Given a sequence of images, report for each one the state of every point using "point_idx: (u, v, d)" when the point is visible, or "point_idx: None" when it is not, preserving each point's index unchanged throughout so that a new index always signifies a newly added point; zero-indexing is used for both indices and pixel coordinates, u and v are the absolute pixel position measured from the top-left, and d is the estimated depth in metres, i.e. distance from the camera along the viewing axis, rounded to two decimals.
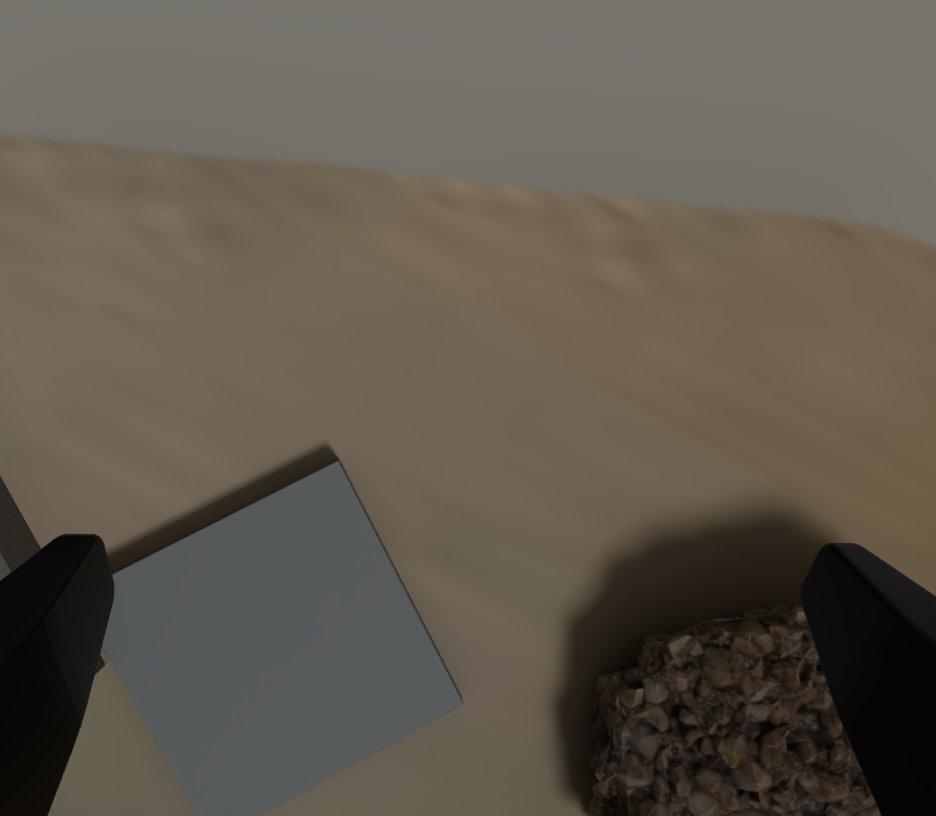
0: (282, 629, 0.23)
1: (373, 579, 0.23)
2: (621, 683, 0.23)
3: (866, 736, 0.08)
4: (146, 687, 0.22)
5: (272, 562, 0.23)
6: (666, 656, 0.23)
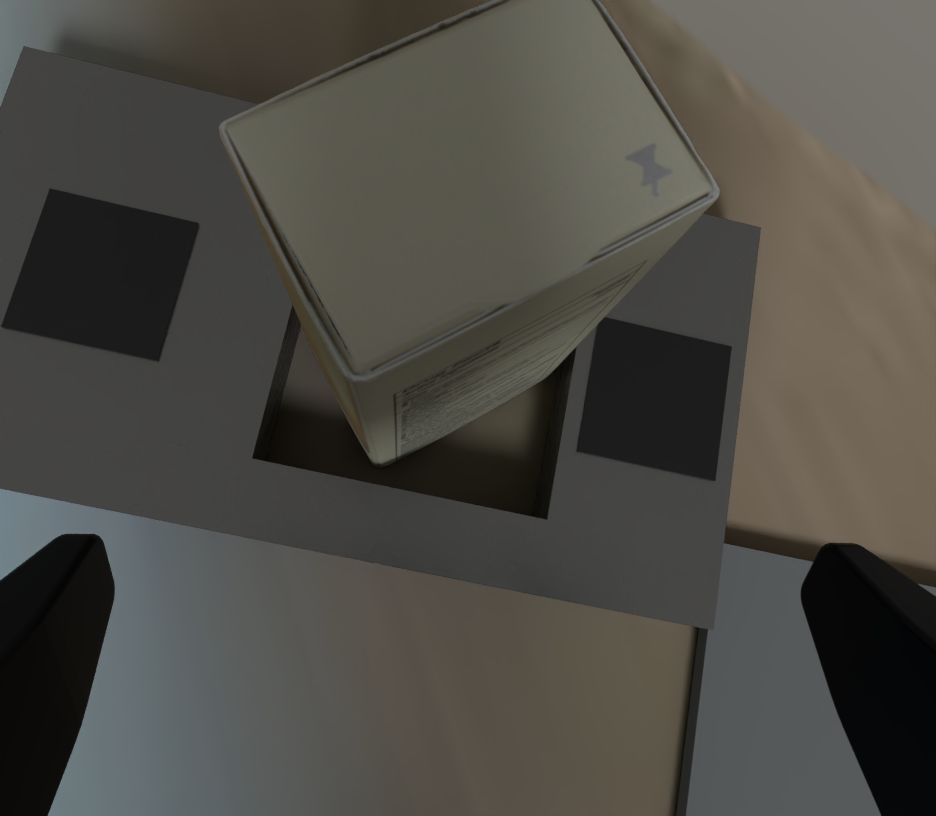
0: None
1: None
2: None
3: (866, 736, 0.08)
4: (721, 672, 0.21)
5: None
6: None
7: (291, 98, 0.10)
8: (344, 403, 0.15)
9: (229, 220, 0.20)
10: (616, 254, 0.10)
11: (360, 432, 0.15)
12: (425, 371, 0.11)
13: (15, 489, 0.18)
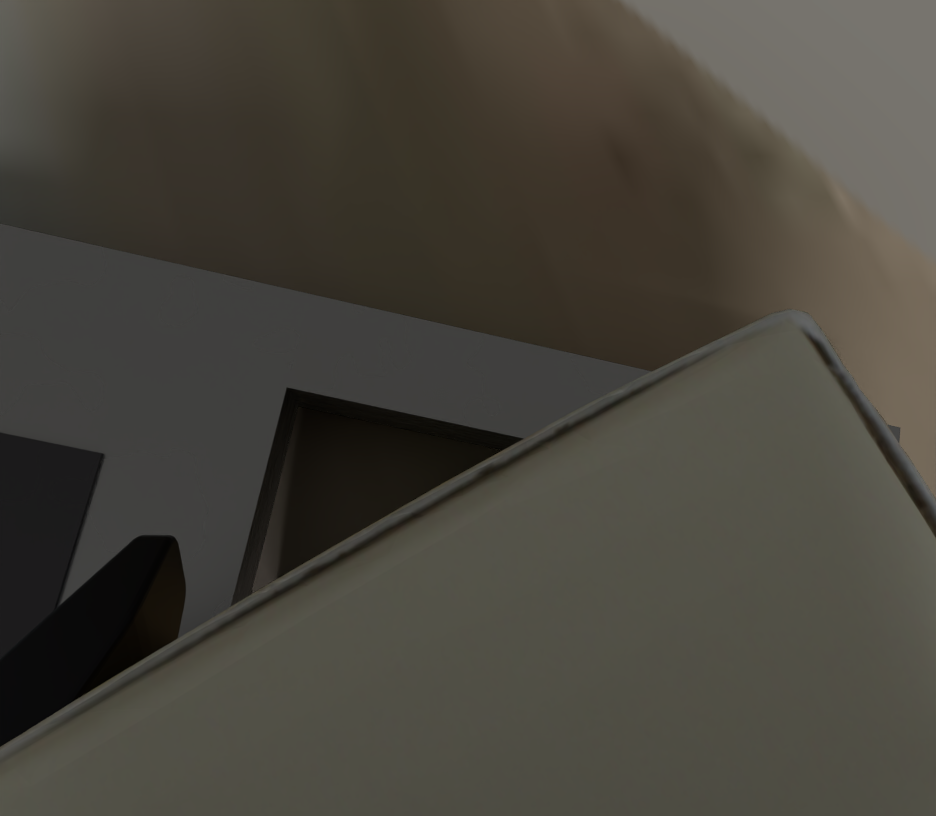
0: None
1: None
2: None
3: None
4: None
5: None
6: None
7: (101, 706, 0.04)
8: None
9: (148, 446, 0.14)
10: None
11: None
12: None
13: None
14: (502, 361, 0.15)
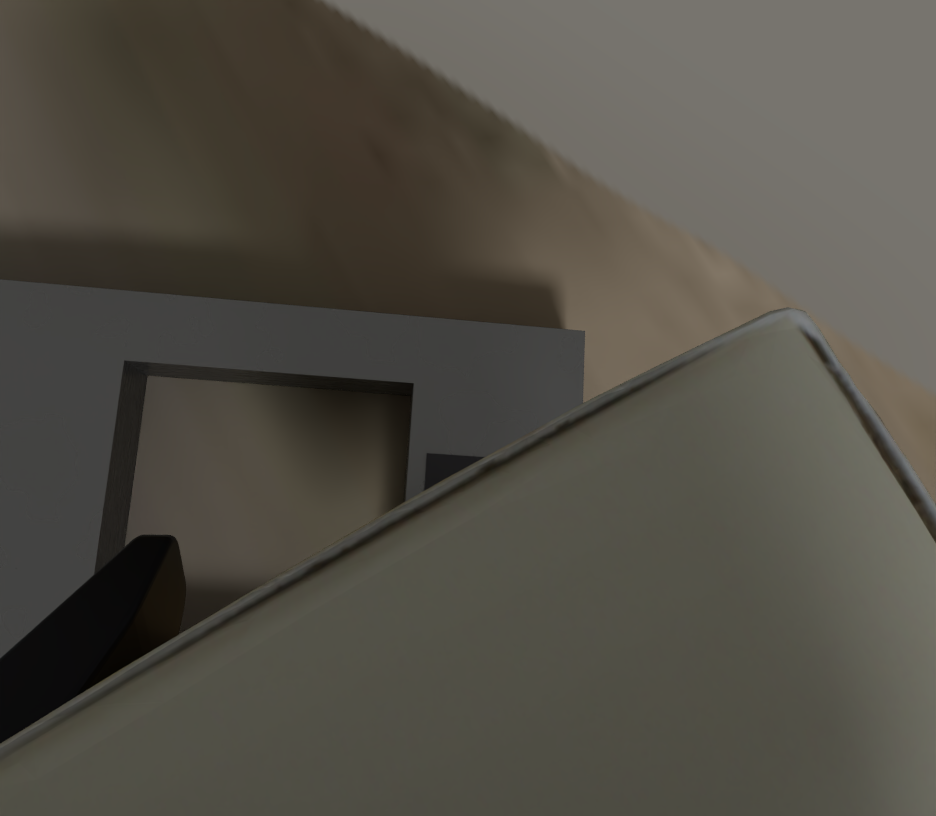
0: None
1: None
2: None
3: None
4: None
5: None
6: None
7: (105, 700, 0.04)
8: None
9: (28, 414, 0.19)
10: None
11: None
12: None
13: None
14: (282, 321, 0.21)
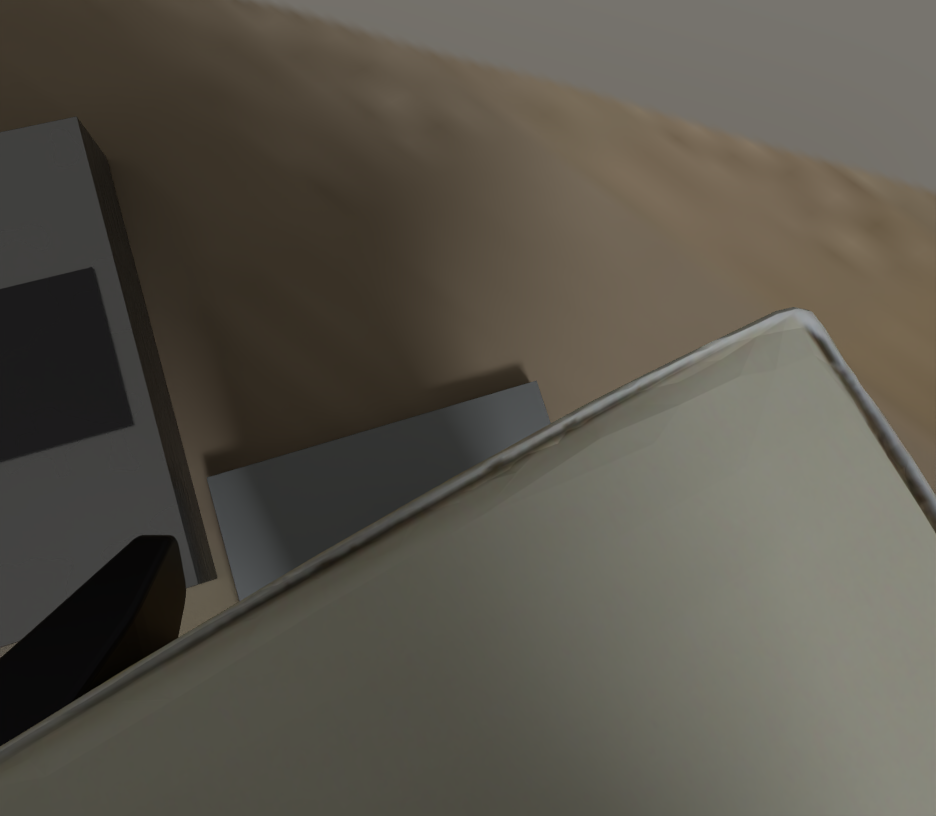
0: None
1: None
2: None
3: None
4: None
5: None
6: None
7: (114, 698, 0.04)
8: None
9: None
10: None
11: None
12: None
13: None
14: None
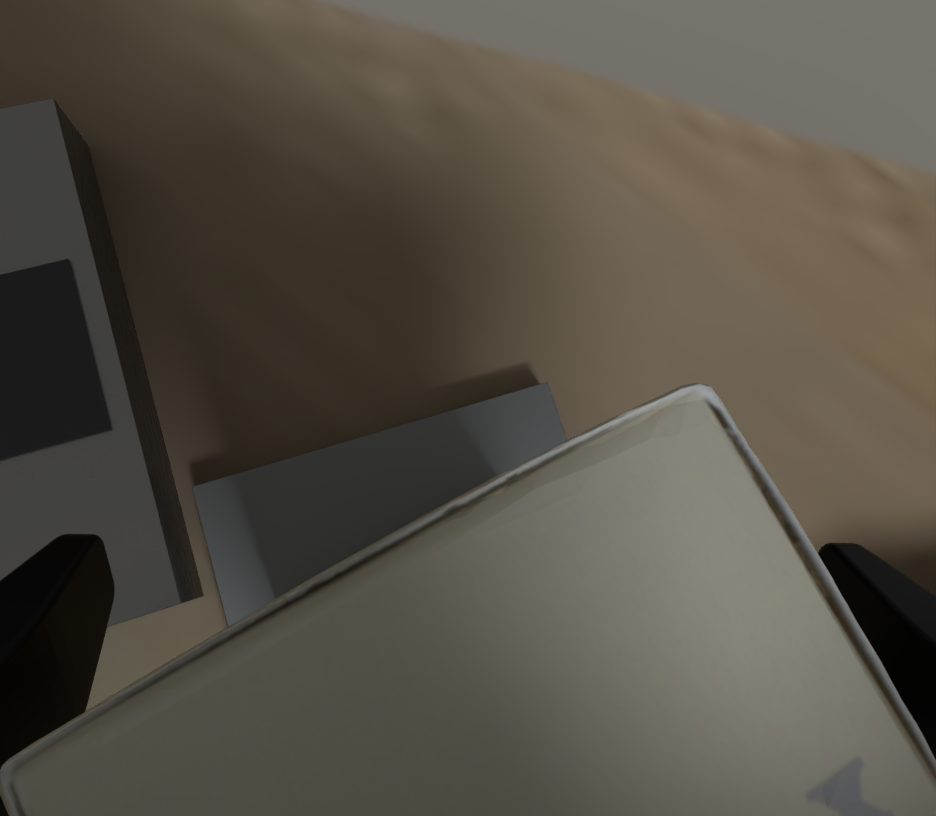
0: None
1: None
2: None
3: None
4: None
5: (448, 493, 0.18)
6: None
7: (153, 687, 0.05)
8: None
9: None
10: None
11: None
12: None
13: None
14: None
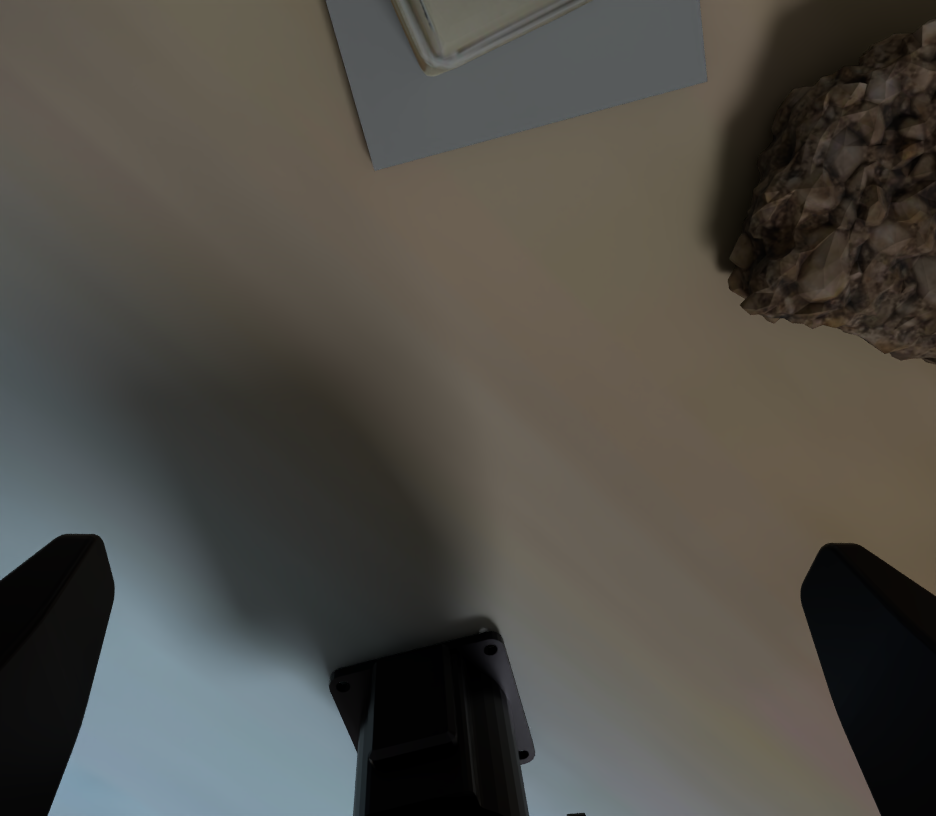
0: None
1: None
2: (834, 82, 0.18)
3: (866, 736, 0.08)
4: None
5: None
6: (912, 45, 0.17)
7: None
8: (400, 18, 0.12)
9: None
10: None
11: None
12: None
13: None
14: None
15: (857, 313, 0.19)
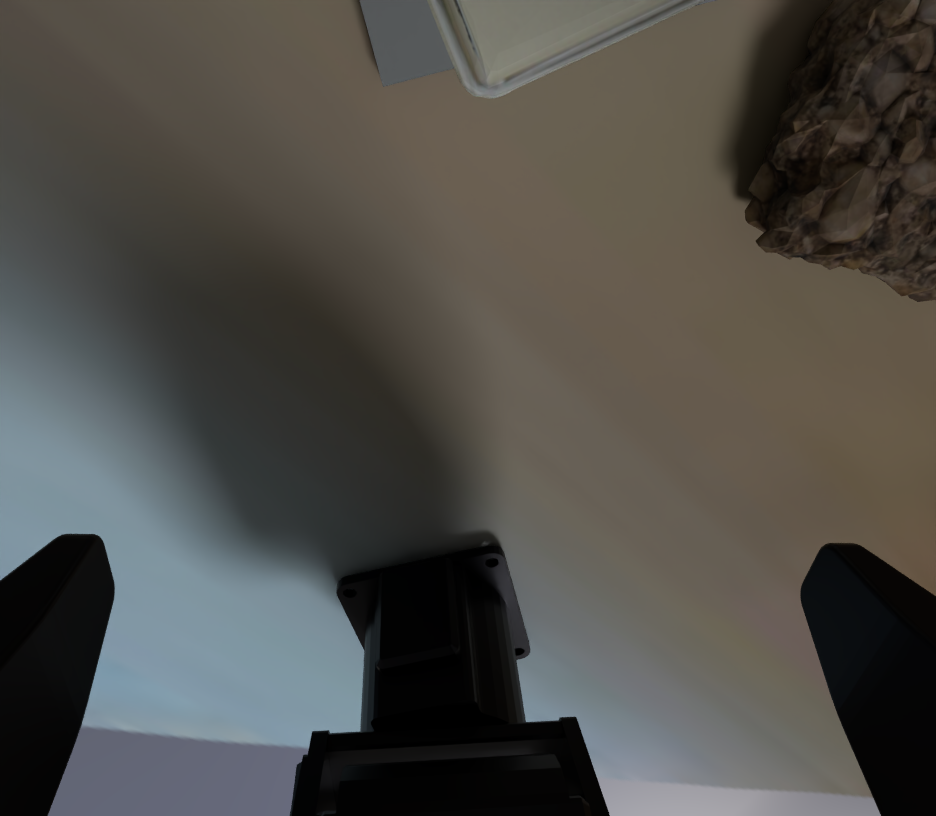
0: None
1: None
2: None
3: (866, 736, 0.08)
4: None
5: None
6: None
7: None
8: None
9: None
10: None
11: None
12: None
13: None
14: None
15: (878, 255, 0.18)
